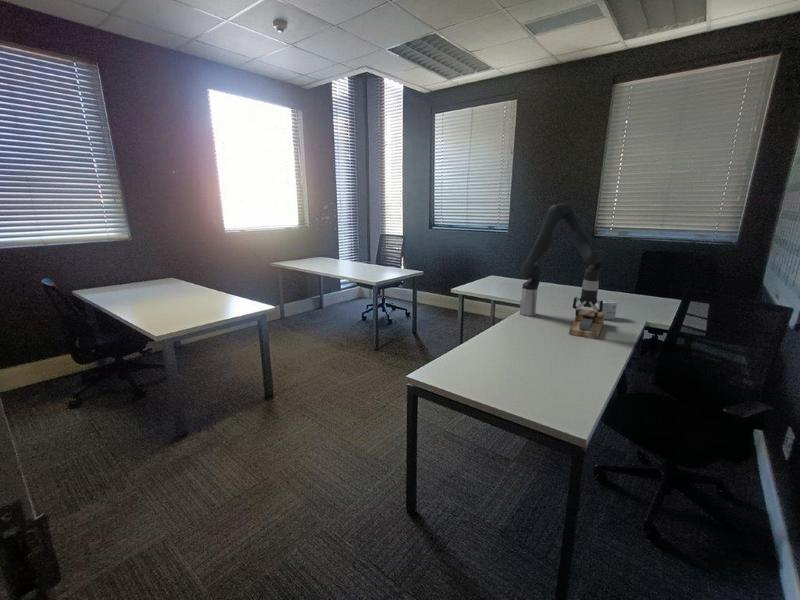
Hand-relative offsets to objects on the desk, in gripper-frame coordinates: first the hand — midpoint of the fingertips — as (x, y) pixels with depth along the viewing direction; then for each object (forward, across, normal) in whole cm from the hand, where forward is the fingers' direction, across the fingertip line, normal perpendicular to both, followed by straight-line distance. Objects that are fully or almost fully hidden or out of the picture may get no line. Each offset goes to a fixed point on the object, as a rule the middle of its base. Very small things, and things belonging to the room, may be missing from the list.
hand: (586, 317), depth 197 cm
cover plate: (+7, 0, +5) cm, 8 cm away
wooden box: (+10, 0, +11) cm, 14 cm away
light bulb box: (+10, +6, +38) cm, 40 cm away
